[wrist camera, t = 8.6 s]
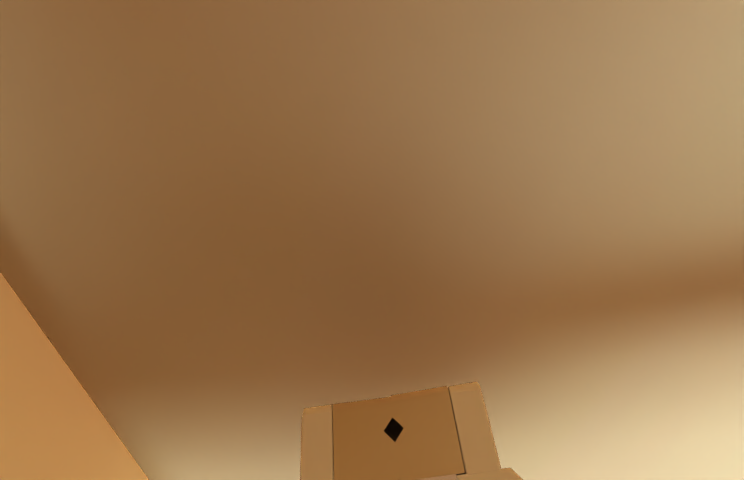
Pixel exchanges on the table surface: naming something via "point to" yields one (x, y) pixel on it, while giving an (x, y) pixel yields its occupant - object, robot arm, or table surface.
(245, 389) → the table surface
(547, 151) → the table surface
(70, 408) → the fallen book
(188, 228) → the table surface
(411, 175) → the table surface
